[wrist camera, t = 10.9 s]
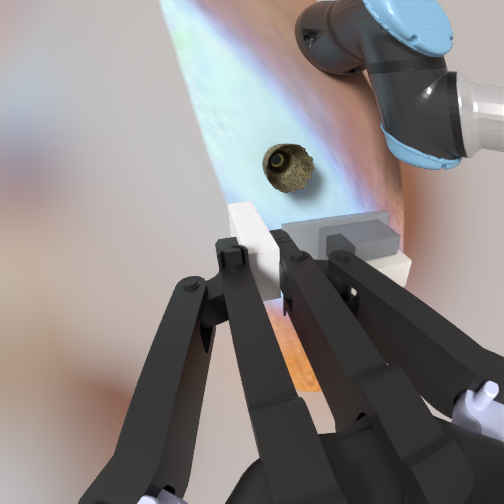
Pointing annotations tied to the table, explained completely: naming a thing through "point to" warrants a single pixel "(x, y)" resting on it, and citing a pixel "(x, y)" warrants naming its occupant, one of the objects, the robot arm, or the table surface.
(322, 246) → the guide
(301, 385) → the table surface
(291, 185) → the cup
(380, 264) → the peg
